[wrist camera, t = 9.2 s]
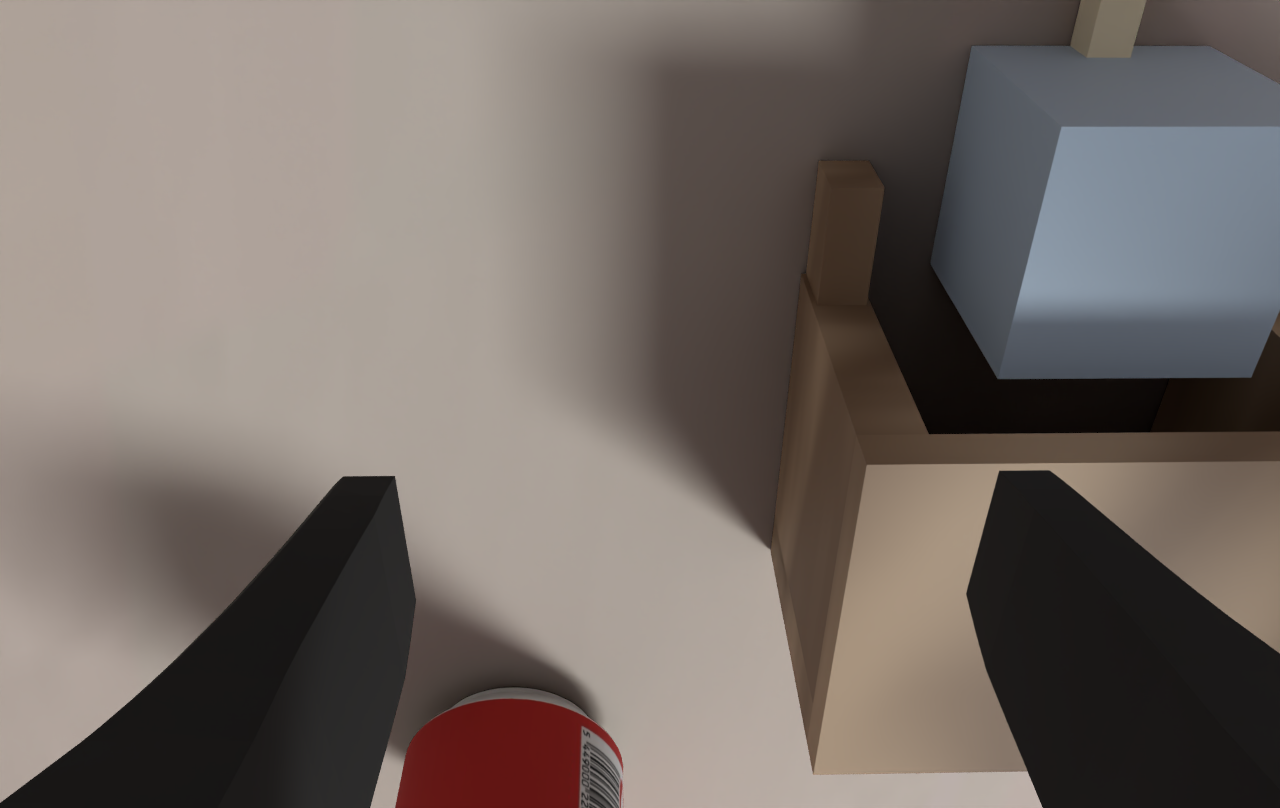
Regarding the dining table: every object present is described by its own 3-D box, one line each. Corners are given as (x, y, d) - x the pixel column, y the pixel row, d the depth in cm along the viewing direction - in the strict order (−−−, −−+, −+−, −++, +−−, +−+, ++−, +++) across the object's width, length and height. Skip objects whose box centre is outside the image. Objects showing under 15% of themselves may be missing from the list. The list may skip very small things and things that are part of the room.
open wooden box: (1309, 159, 20) (1569, 323, 15) (1152, 547, 26) (1296, 766, 20) (813, 160, 20) (890, 327, 14) (770, 551, 26) (813, 774, 20)
